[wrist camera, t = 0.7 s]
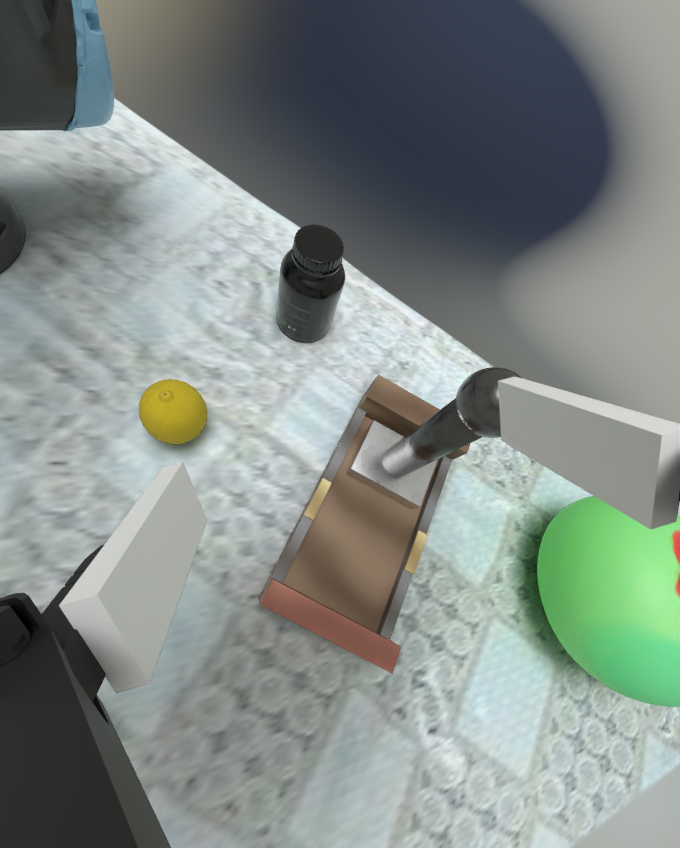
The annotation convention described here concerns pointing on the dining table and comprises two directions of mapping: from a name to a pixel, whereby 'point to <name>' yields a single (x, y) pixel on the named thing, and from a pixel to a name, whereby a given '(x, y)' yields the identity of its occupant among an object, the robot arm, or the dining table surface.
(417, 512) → the press base
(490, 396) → the press handle
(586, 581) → the toy bird
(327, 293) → the supplement bottle
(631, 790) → the dining table surface
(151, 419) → the lemon
